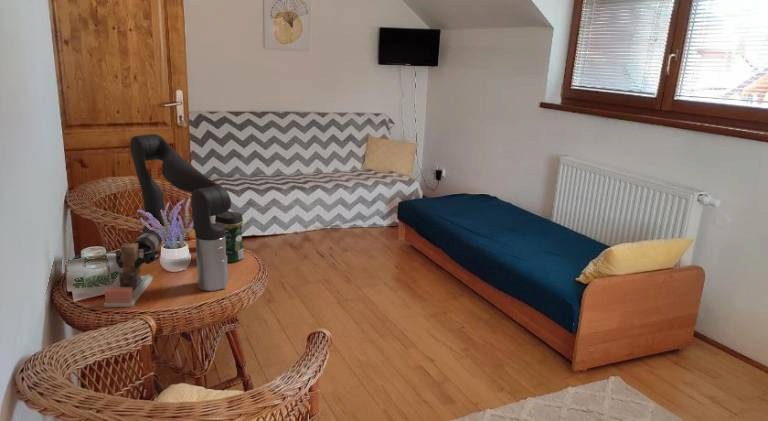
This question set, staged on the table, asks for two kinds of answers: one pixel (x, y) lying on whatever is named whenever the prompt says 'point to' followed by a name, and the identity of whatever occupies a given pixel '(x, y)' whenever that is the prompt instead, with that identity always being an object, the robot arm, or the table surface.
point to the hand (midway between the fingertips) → (128, 265)
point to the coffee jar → (232, 234)
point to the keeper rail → (125, 294)
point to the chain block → (129, 266)
